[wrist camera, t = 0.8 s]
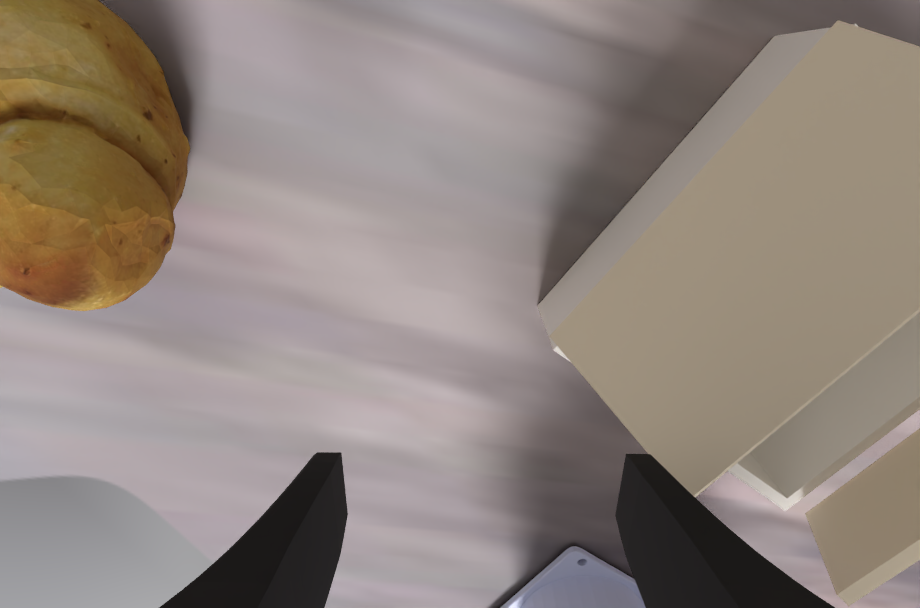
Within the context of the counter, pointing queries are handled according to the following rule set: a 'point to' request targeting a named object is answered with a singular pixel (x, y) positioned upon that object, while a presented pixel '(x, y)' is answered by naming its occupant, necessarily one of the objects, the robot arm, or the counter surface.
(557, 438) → the counter surface
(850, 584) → the back flap
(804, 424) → the carton
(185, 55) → the counter surface
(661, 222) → the front flap
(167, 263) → the counter surface
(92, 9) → the bread roll
